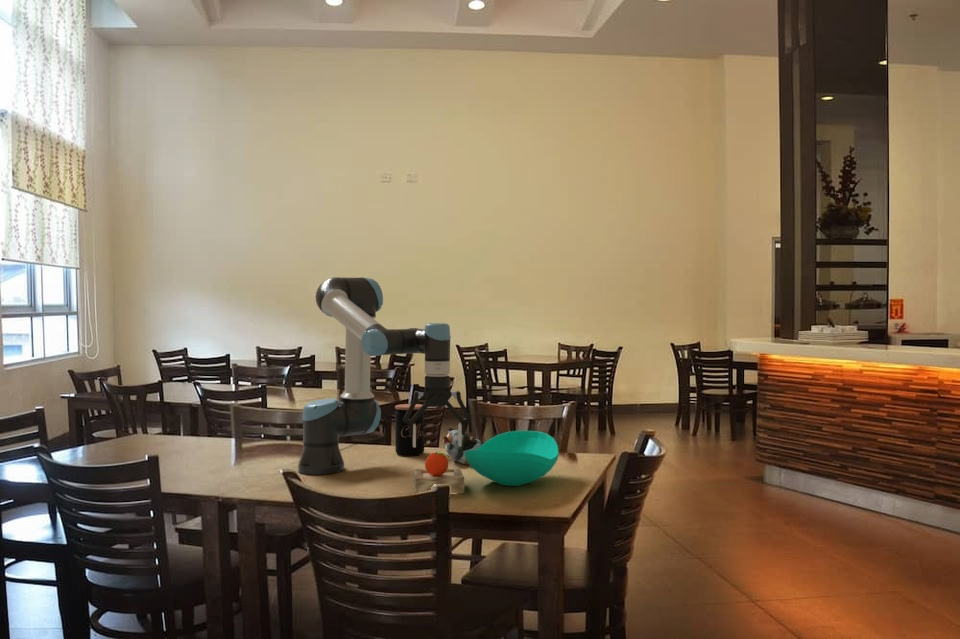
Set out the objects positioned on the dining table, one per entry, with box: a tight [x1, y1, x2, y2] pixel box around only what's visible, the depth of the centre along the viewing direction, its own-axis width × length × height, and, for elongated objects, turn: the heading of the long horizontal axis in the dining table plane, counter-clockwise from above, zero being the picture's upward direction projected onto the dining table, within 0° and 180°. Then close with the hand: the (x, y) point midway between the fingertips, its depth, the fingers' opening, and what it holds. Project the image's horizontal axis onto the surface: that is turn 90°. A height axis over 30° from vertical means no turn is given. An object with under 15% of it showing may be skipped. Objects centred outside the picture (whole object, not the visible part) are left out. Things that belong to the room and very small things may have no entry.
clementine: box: [424, 451, 452, 476], centre depth 235 cm, size 8×7×7 cm
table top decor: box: [465, 430, 560, 487], centre depth 242 cm, size 40×28×13 cm
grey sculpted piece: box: [442, 427, 484, 467], centre depth 276 cm, size 15×12×14 cm
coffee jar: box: [394, 403, 425, 457], centre depth 293 cm, size 11×11×18 cm
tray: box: [413, 467, 465, 494], centre depth 235 cm, size 14×14×5 cm
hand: (437, 446), depth 236 cm, fingers open, 13 cm apart
